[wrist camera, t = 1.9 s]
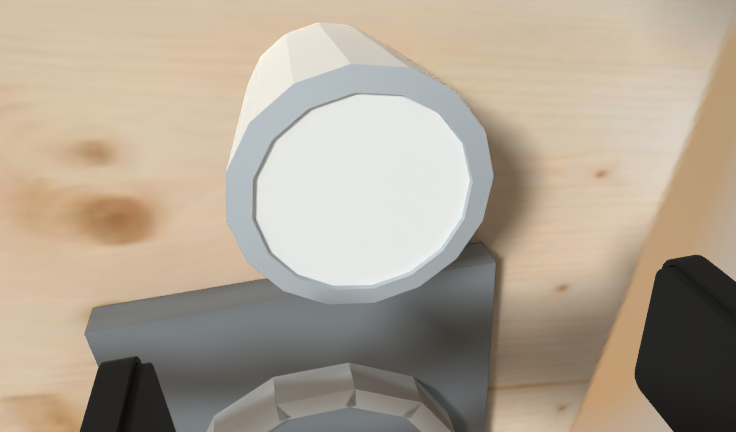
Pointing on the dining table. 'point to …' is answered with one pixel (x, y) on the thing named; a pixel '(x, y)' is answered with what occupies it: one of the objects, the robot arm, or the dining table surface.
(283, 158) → the white cup
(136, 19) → the dining table surface
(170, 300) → the ring board
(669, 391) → the robot arm
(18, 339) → the dining table surface
